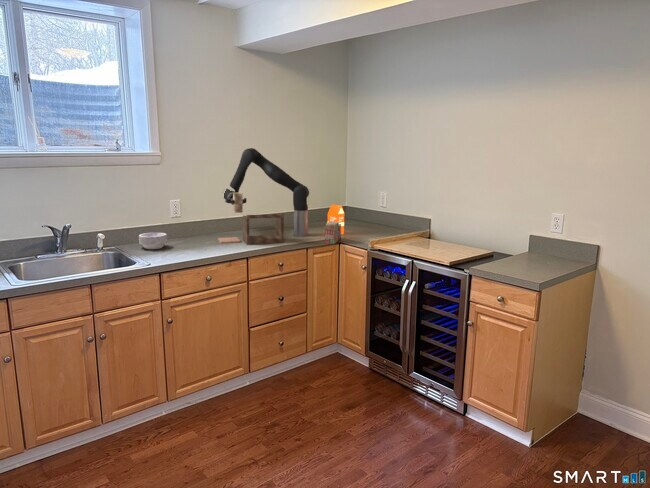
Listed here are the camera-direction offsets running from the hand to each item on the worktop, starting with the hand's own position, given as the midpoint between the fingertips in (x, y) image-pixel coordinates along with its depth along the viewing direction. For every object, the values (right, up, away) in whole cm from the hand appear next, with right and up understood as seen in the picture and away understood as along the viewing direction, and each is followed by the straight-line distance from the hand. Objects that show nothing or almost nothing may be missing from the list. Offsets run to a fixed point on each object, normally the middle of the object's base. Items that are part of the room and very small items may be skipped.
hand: (238, 202), depth 301 cm
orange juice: (+61, -19, +33) cm, 72 cm away
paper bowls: (-45, -28, -21) cm, 57 cm away
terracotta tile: (-6, -24, +3) cm, 25 cm away
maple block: (-1, -6, +4) cm, 7 cm away
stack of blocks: (+59, -24, +12) cm, 65 cm away
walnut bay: (+15, -25, +3) cm, 29 cm away
